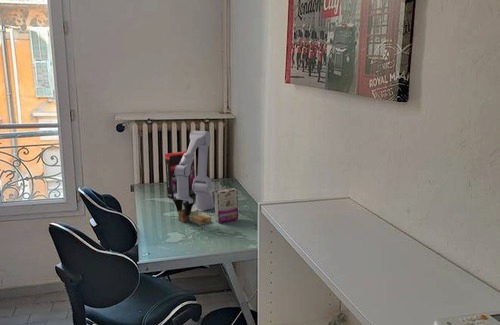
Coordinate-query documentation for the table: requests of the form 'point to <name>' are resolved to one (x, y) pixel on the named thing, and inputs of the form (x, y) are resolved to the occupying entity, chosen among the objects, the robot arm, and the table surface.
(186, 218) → the walnut block
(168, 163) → the graphics card box
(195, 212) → the sage block
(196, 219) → the oak slab
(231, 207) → the candy bar box
